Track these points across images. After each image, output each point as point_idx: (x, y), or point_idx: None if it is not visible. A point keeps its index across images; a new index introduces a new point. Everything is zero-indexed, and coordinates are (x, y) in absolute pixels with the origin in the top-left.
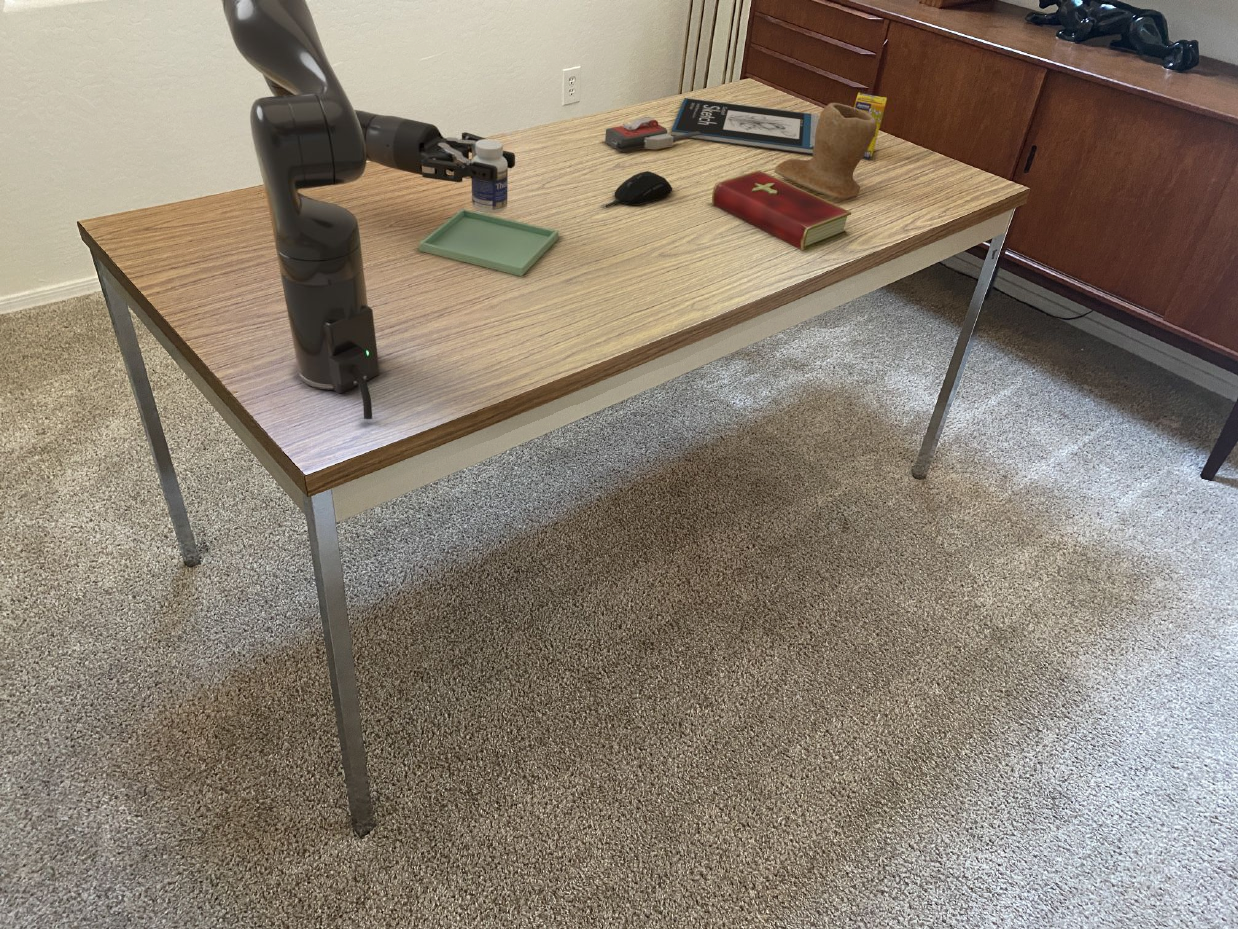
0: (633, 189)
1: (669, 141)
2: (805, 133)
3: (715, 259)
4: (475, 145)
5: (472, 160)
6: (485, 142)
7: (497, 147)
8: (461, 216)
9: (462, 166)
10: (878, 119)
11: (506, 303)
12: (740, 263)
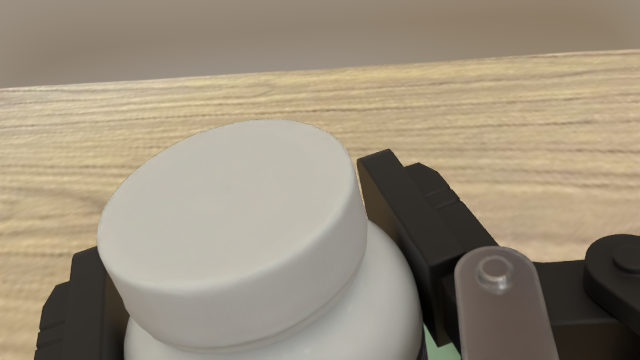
0: None
1: None
2: None
3: (68, 159)
4: (321, 253)
5: (382, 356)
6: (216, 220)
7: (245, 125)
8: None
9: (563, 292)
10: None
11: (589, 230)
12: (65, 136)
